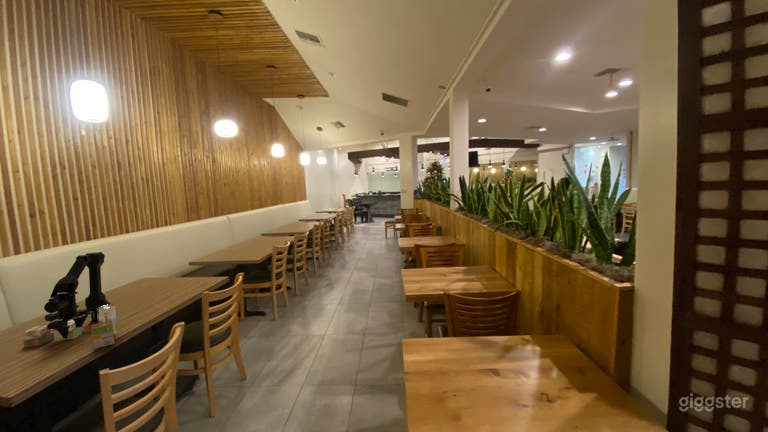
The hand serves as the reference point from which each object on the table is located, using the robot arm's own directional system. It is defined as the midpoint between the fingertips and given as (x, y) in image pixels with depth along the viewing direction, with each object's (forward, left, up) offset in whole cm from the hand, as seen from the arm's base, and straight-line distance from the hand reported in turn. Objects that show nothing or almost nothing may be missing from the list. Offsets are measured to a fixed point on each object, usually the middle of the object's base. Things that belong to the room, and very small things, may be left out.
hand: (72, 334), depth 156 cm
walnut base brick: (+11, +4, -1) cm, 12 cm away
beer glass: (-18, +2, -1) cm, 18 cm away
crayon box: (-24, +14, -1) cm, 28 cm away
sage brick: (0, 0, -1) cm, 1 cm away
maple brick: (+11, +4, +3) cm, 12 cm away
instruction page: (+19, -19, -1) cm, 27 cm away
